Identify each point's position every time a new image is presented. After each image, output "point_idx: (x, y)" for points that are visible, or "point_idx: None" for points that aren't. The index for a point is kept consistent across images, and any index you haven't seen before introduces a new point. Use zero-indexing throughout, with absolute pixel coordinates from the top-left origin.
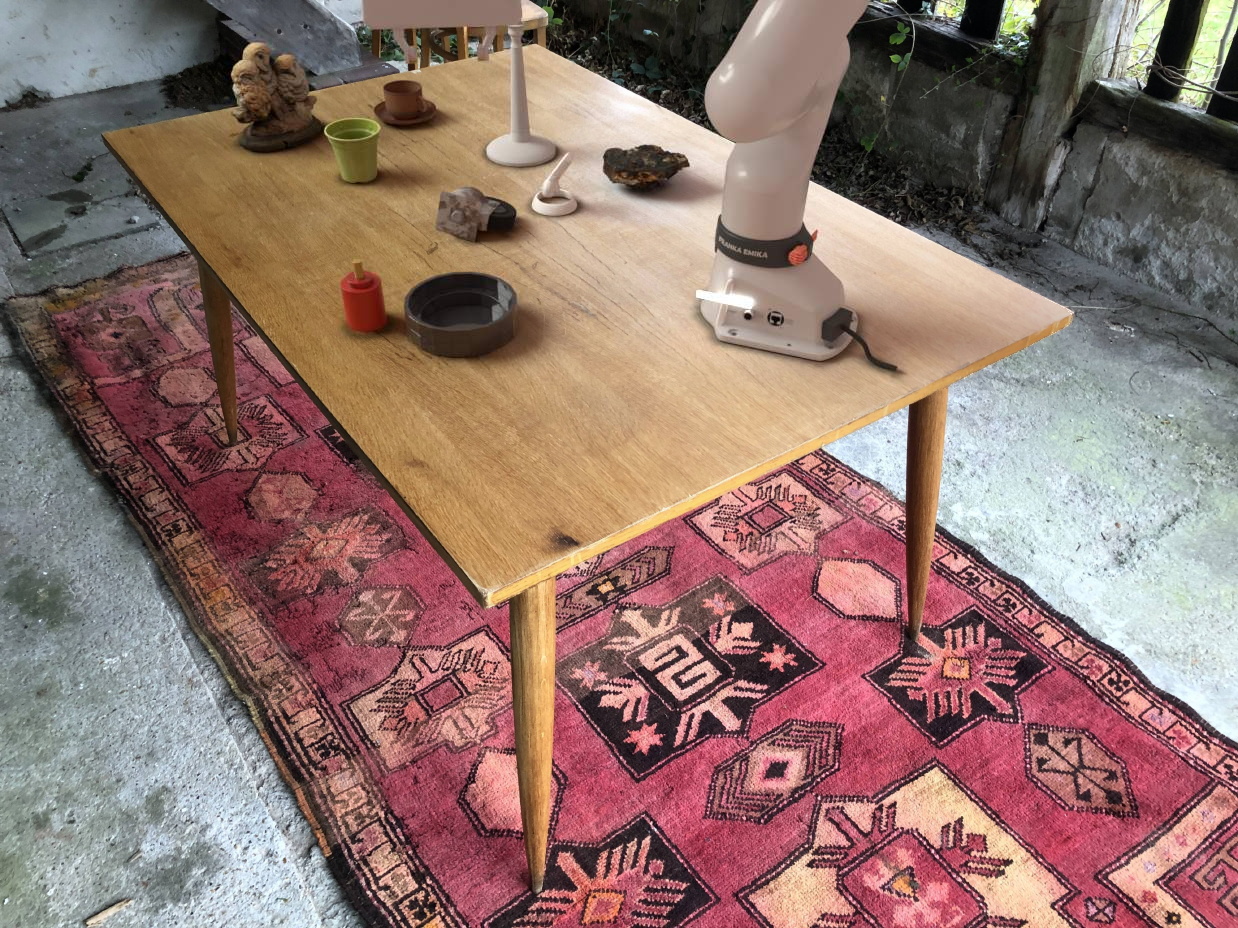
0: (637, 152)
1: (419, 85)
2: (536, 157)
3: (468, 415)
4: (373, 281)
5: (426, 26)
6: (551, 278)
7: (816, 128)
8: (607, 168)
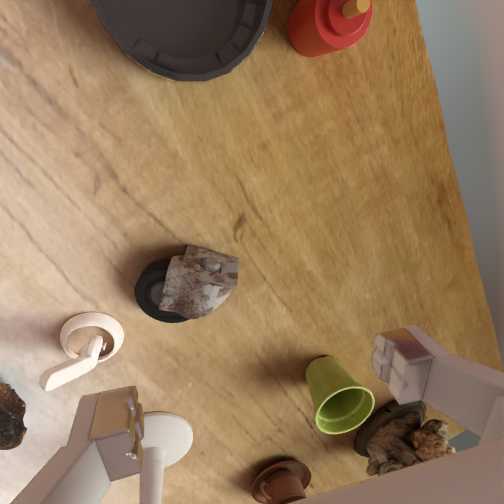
0: None
1: None
2: None
3: None
4: (326, 6)
5: (438, 468)
6: (64, 147)
7: None
8: (15, 407)
